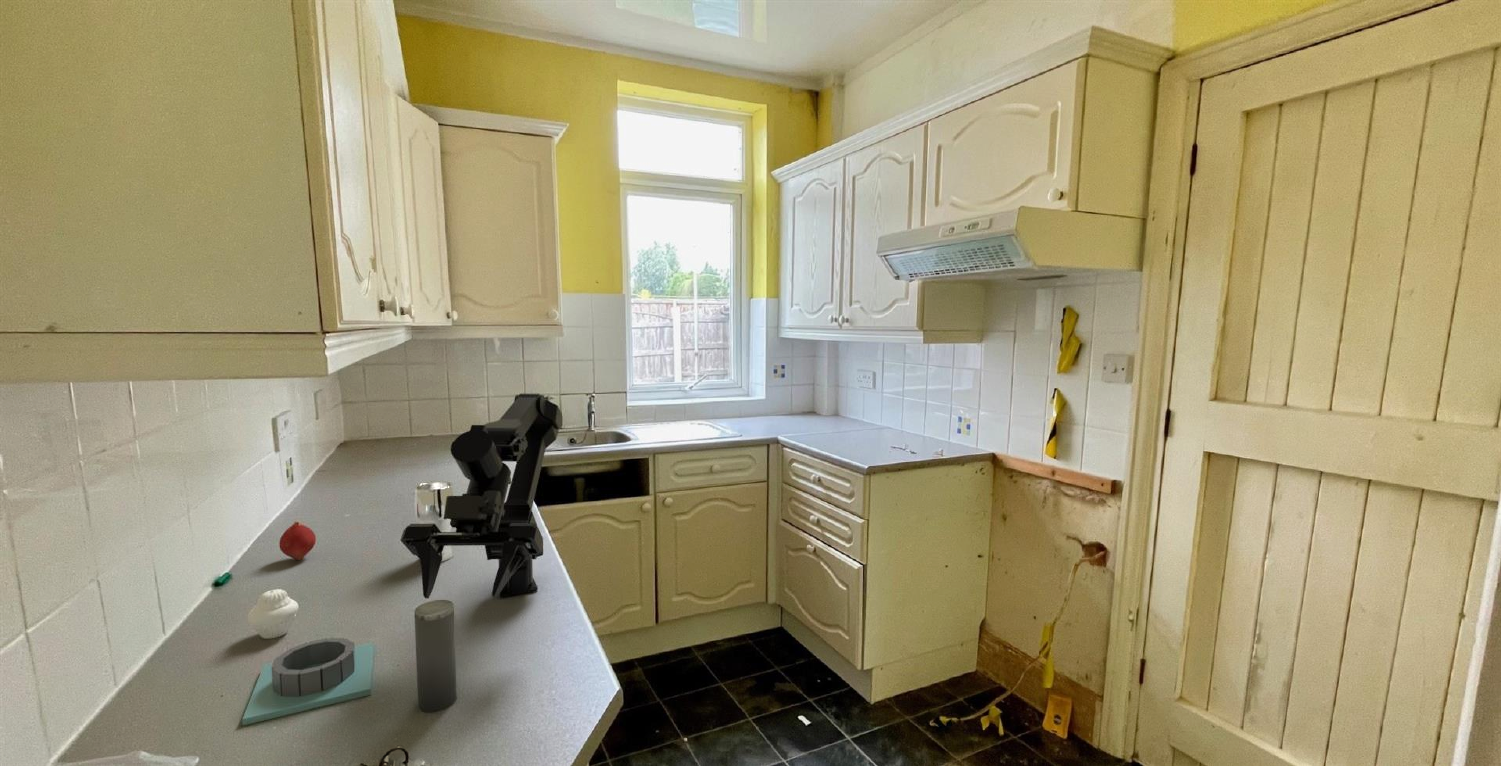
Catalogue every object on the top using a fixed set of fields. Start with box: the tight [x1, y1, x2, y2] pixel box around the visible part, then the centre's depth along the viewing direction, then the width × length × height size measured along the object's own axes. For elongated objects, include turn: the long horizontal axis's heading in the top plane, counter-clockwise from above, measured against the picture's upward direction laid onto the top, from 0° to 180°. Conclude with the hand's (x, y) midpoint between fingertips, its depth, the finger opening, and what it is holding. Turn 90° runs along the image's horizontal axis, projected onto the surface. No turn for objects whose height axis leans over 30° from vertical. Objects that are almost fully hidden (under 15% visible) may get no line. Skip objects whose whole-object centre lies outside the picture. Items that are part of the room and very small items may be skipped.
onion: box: [278, 520, 317, 561], centre depth 122 cm, size 6×6×8 cm
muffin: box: [247, 588, 300, 640], centre depth 94 cm, size 6×6×7 cm
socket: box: [242, 637, 376, 726], centre depth 82 cm, size 13×13×4 cm
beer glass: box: [414, 480, 454, 563], centre depth 124 cm, size 7×7×15 cm
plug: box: [413, 599, 458, 713], centre depth 78 cm, size 4×4×12 cm
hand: (460, 596), depth 85 cm, fingers open, 9 cm apart
